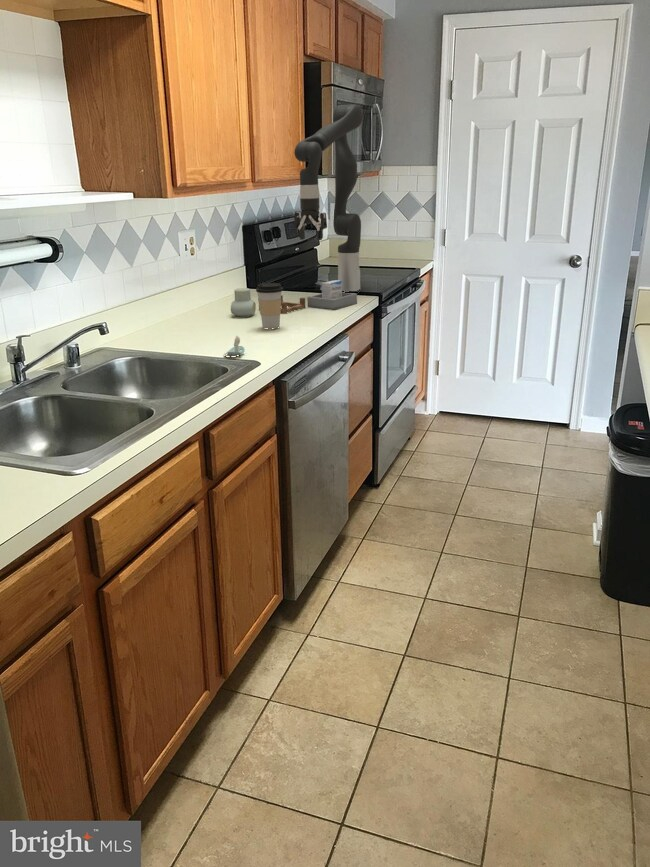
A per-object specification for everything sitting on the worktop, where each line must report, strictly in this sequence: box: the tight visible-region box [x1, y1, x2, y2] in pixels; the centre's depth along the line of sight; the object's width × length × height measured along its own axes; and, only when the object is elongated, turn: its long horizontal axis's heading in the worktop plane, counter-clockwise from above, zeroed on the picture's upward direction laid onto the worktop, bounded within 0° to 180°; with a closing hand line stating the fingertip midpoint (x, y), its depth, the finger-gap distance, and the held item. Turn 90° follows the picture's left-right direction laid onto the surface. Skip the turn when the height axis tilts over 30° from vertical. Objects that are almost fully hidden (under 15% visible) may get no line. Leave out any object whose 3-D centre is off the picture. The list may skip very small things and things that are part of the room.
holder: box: [258, 294, 306, 314], centre depth 281 cm, size 13×13×4 cm
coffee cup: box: [255, 282, 284, 330], centre depth 248 cm, size 9×9×15 cm
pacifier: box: [223, 335, 246, 356], centre depth 214 cm, size 7×6×6 cm
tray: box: [306, 292, 358, 311], centre depth 286 cm, size 16×13×4 cm
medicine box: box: [321, 279, 342, 299], centre depth 285 cm, size 8×4×9 cm, turn 144°
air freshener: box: [230, 287, 257, 318], centre depth 270 cm, size 11×8×10 cm
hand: (311, 239), depth 285 cm, fingers open, 8 cm apart
